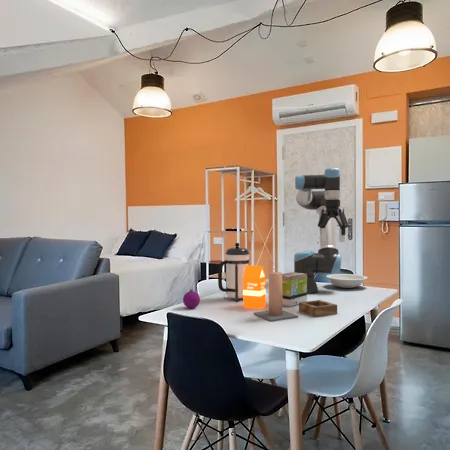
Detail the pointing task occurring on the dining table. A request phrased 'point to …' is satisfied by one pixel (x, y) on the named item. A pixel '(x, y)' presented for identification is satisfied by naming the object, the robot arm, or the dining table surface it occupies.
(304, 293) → the tea box
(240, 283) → the coffee press
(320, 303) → the pocket
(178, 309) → the dining table surface
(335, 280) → the soup bowl
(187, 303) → the christmas ornament
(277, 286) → the tall peach cylinder
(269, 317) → the mat
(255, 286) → the orange juice
